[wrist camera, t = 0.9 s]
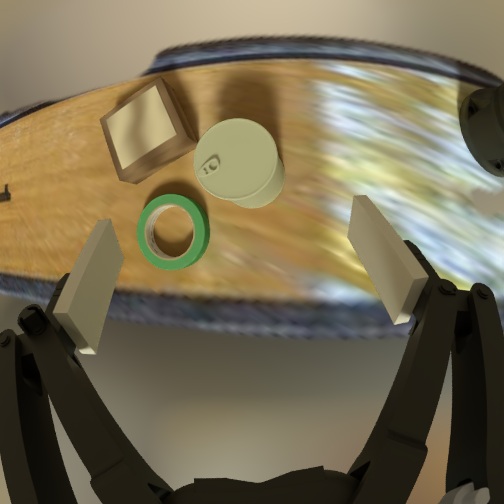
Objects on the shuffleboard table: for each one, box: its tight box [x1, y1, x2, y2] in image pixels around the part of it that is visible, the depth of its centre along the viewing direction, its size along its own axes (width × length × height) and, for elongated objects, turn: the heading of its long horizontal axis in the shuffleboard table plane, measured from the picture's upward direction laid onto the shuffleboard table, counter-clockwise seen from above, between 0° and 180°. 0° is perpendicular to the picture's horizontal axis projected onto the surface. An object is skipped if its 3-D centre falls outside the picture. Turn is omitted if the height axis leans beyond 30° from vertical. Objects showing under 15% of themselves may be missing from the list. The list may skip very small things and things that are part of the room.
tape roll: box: [137, 194, 210, 270], centre depth 43 cm, size 11×11×3 cm
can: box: [193, 118, 285, 208], centre depth 36 cm, size 9×9×12 cm
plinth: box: [100, 77, 198, 184], centre depth 41 cm, size 12×12×5 cm
